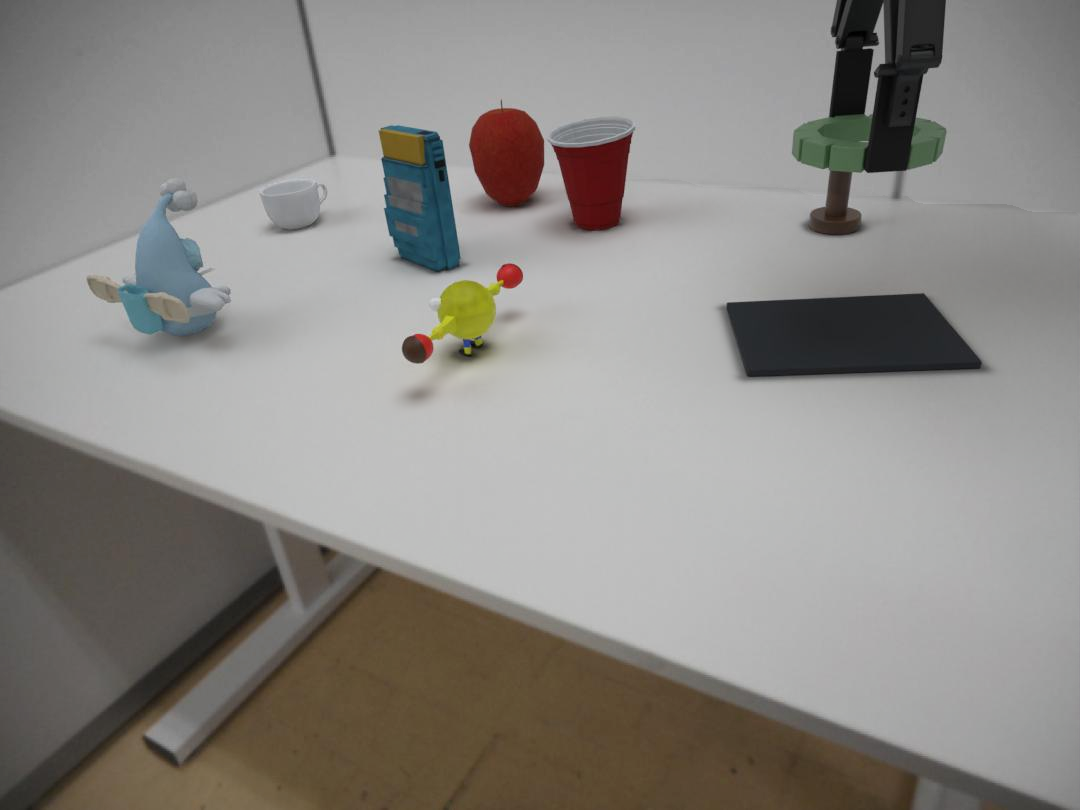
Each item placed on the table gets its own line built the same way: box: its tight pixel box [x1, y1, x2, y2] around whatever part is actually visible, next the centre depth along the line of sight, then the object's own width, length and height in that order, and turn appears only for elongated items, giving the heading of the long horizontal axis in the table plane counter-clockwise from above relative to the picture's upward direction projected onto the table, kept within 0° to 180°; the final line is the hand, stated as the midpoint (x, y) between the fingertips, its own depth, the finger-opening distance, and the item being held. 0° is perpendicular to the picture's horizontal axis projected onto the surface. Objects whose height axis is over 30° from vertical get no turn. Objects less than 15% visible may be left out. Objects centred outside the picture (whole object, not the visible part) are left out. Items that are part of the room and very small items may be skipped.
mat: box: [726, 292, 983, 377], centre depth 65 cm, size 18×13×1 cm
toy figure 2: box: [401, 262, 524, 365], centre depth 67 cm, size 18×6×7 cm, turn 152°
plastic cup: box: [546, 115, 637, 231], centre depth 92 cm, size 11×11×12 cm
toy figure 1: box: [86, 177, 232, 337], centre depth 74 cm, size 17×10×15 cm, turn 57°
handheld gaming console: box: [378, 124, 462, 273], centre depth 85 cm, size 10×4×15 cm, turn 43°
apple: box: [468, 98, 545, 208], centre depth 102 cm, size 10×10×14 cm
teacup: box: [258, 178, 328, 230], centre depth 105 cm, size 10×8×5 cm
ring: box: [791, 113, 948, 174], centre depth 59 cm, size 11×11×2 cm
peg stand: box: [808, 170, 862, 235], centre depth 85 cm, size 6×6×9 cm
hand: (863, 150), depth 59 cm, fingers closed on ring, 11 cm apart
